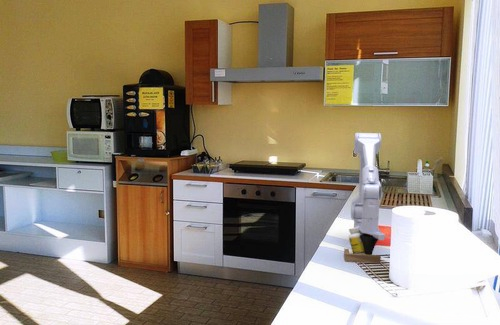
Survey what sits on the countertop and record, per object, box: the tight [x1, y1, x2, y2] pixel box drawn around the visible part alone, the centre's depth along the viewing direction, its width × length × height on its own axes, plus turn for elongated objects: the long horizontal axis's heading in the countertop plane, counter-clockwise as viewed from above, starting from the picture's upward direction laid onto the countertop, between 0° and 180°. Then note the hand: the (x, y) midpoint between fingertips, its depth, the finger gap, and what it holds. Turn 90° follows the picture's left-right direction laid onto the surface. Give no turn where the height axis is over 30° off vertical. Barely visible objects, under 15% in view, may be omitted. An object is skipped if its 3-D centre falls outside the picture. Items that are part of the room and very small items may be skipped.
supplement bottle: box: [348, 226, 365, 254], centre depth 175 cm, size 5×5×10 cm
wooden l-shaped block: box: [343, 248, 382, 264], centre depth 172 cm, size 8×12×2 cm, turn 82°
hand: (368, 255), depth 172 cm, fingers closed
